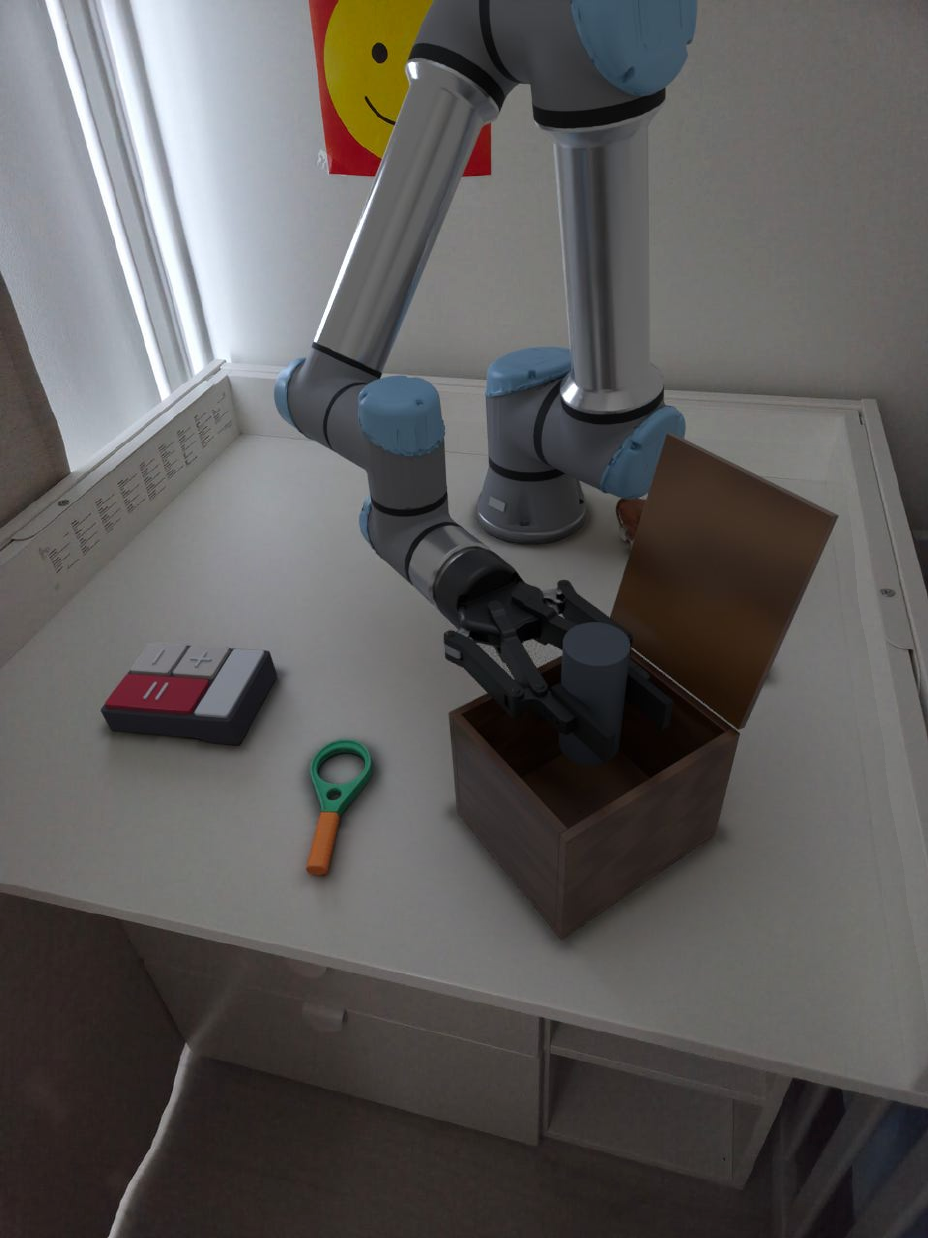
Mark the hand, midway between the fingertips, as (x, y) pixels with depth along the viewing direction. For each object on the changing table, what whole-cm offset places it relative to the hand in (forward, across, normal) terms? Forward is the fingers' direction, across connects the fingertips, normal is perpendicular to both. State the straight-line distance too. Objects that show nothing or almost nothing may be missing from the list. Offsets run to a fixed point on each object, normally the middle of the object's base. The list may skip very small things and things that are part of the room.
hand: (639, 731), depth 60 cm
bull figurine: (-32, -36, -17) cm, 51 cm away
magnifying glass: (-20, +18, -17) cm, 32 cm away
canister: (-5, 0, -6) cm, 8 cm away
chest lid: (-5, -11, +6) cm, 13 cm away
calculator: (-42, +24, -17) cm, 51 cm away
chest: (-5, 0, -17) cm, 18 cm away
